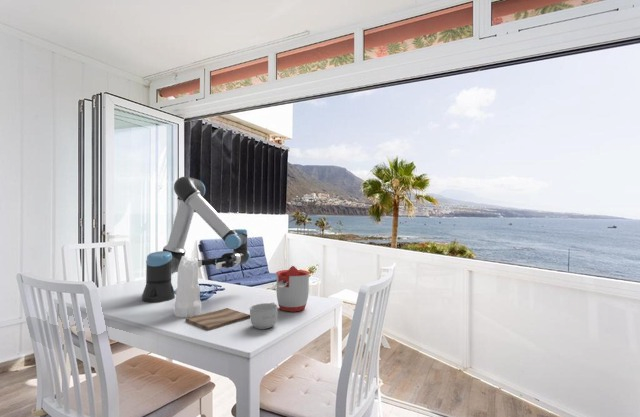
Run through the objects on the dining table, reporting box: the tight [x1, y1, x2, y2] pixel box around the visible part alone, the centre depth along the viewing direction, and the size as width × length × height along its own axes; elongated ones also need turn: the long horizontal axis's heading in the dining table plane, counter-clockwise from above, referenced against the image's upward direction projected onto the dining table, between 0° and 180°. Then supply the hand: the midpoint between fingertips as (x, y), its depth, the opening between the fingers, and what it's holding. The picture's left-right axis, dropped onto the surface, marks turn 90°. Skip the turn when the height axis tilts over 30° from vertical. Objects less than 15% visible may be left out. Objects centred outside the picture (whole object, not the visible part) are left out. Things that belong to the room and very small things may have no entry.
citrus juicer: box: [275, 265, 310, 313], centre depth 154 cm, size 16×17×20 cm
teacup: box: [249, 302, 278, 330], centre depth 131 cm, size 14×11×8 cm
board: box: [185, 307, 250, 331], centre depth 137 cm, size 16×20×1 cm
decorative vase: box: [173, 255, 202, 319], centre depth 145 cm, size 11×11×25 cm
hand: (204, 265), depth 154 cm, fingers open, 13 cm apart
